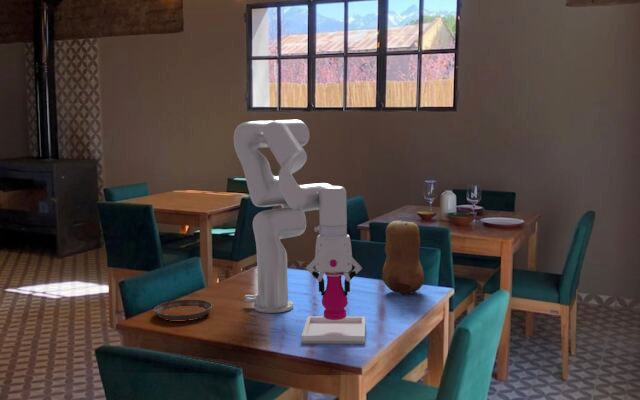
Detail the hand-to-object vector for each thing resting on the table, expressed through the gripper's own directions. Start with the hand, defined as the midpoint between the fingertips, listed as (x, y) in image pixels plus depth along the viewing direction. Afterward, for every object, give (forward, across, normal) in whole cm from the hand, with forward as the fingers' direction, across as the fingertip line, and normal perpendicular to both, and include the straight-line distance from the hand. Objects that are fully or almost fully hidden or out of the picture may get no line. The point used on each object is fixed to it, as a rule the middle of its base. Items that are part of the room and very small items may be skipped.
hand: (334, 293), depth 186 cm
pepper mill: (+7, 0, 0) cm, 7 cm away
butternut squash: (+12, +21, +42) cm, 48 cm away
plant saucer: (+12, -48, +16) cm, 52 cm away
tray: (+11, 0, 0) cm, 11 cm away
